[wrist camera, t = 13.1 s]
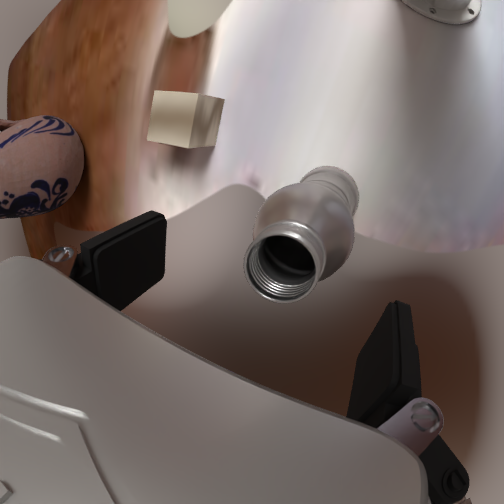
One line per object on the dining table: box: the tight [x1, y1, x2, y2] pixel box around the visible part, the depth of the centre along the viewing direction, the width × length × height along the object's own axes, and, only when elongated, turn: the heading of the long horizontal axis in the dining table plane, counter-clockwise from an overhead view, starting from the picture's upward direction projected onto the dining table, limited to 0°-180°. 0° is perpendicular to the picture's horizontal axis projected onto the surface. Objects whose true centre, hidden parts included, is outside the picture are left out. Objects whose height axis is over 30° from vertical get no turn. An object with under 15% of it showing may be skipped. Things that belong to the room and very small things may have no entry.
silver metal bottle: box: [244, 166, 359, 304], centre depth 21 cm, size 6×7×20 cm
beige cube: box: [147, 91, 225, 148], centre depth 30 cm, size 6×6×6 cm
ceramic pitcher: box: [0, 115, 84, 219], centre depth 32 cm, size 18×21×25 cm
